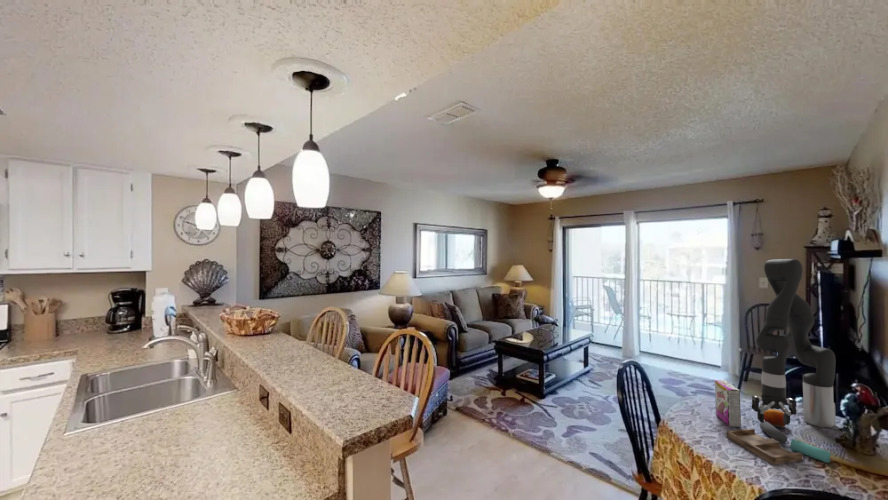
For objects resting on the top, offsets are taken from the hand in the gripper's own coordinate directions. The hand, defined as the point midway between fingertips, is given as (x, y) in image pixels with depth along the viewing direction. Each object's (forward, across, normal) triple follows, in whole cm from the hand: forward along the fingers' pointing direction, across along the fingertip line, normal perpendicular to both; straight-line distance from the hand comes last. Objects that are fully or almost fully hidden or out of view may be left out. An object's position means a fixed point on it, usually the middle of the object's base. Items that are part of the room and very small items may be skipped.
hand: (773, 422), depth 151 cm
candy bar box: (+6, -11, +12) cm, 17 cm away
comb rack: (+6, -9, -10) cm, 15 cm away
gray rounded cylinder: (+6, +1, 0) cm, 6 cm away
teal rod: (+6, +5, -12) cm, 14 cm away
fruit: (+6, +6, +11) cm, 14 cm away
